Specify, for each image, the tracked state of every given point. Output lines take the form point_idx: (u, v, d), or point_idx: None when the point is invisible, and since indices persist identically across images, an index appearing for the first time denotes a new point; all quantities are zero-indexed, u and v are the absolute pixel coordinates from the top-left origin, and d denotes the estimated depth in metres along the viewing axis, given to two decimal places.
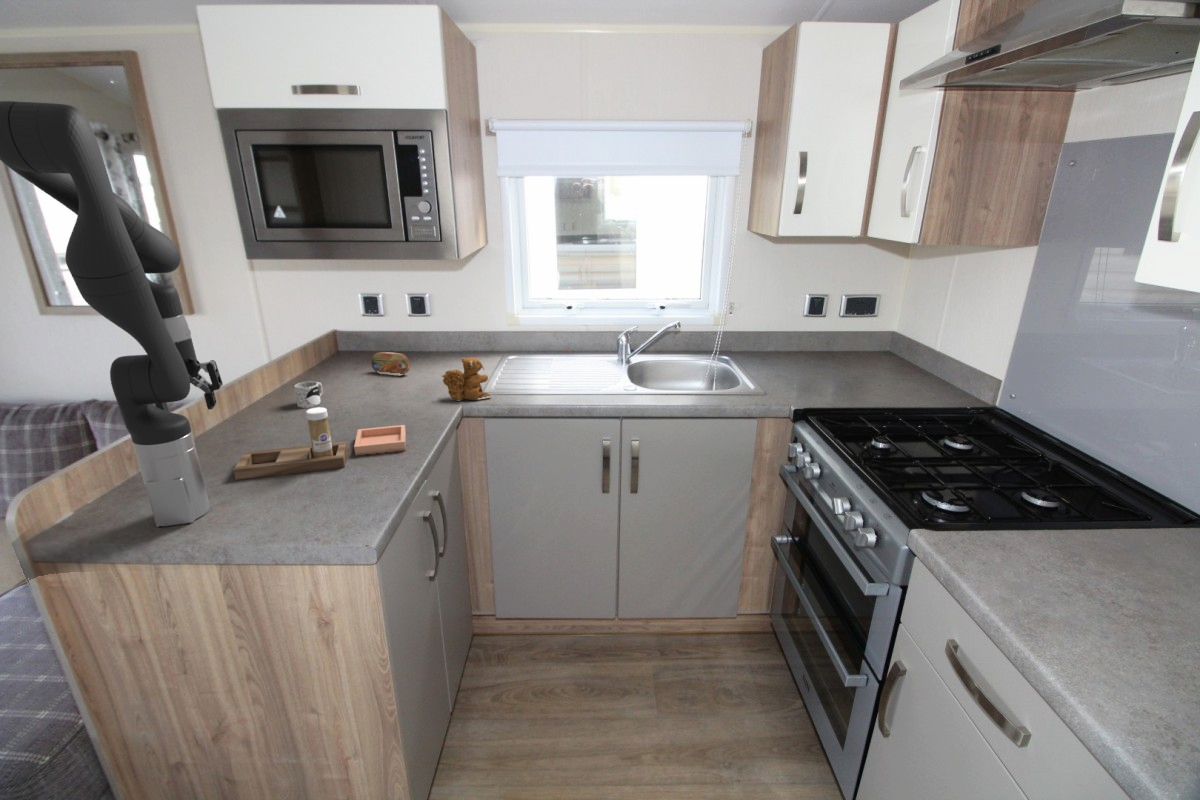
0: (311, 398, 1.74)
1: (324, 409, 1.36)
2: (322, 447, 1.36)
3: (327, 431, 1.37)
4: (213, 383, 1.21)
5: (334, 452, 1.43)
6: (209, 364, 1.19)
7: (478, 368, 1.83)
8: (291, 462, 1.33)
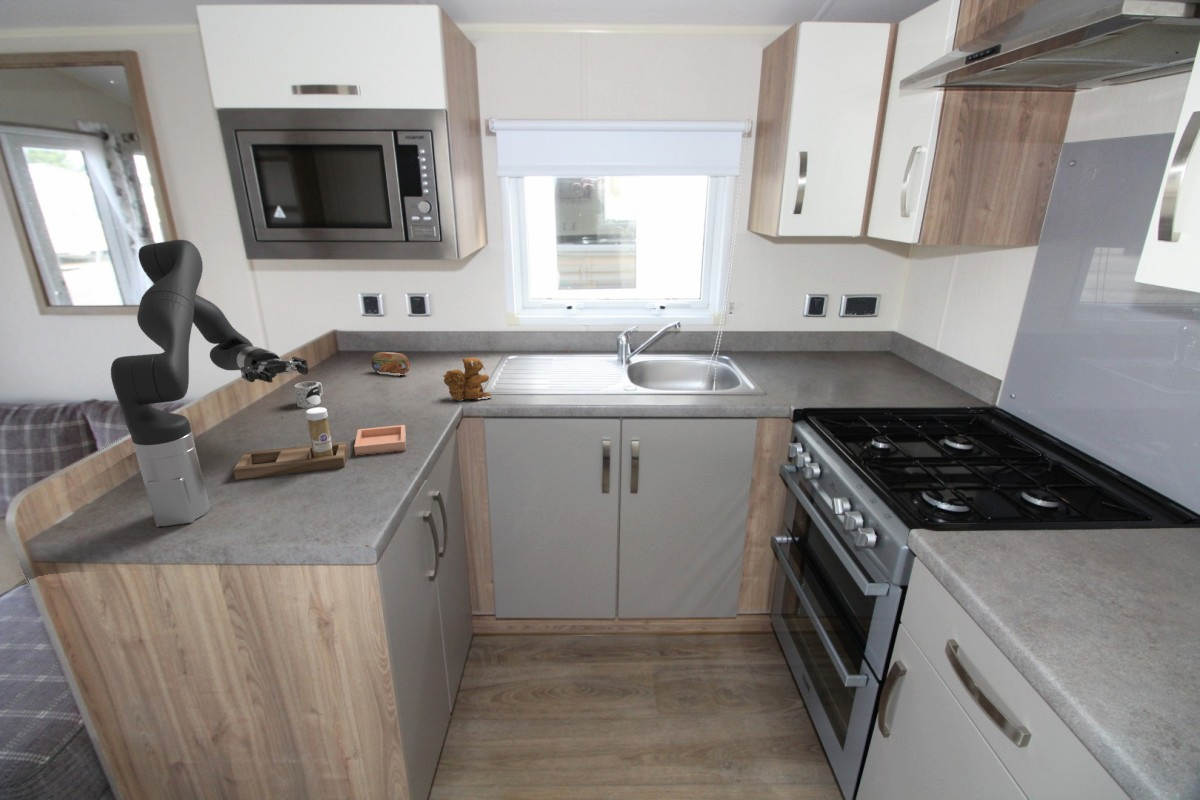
0: (311, 398, 1.74)
1: (324, 409, 1.36)
2: (322, 447, 1.36)
3: (327, 431, 1.37)
4: (301, 360, 1.47)
5: (334, 452, 1.43)
6: None
7: (479, 368, 1.83)
8: (291, 462, 1.33)
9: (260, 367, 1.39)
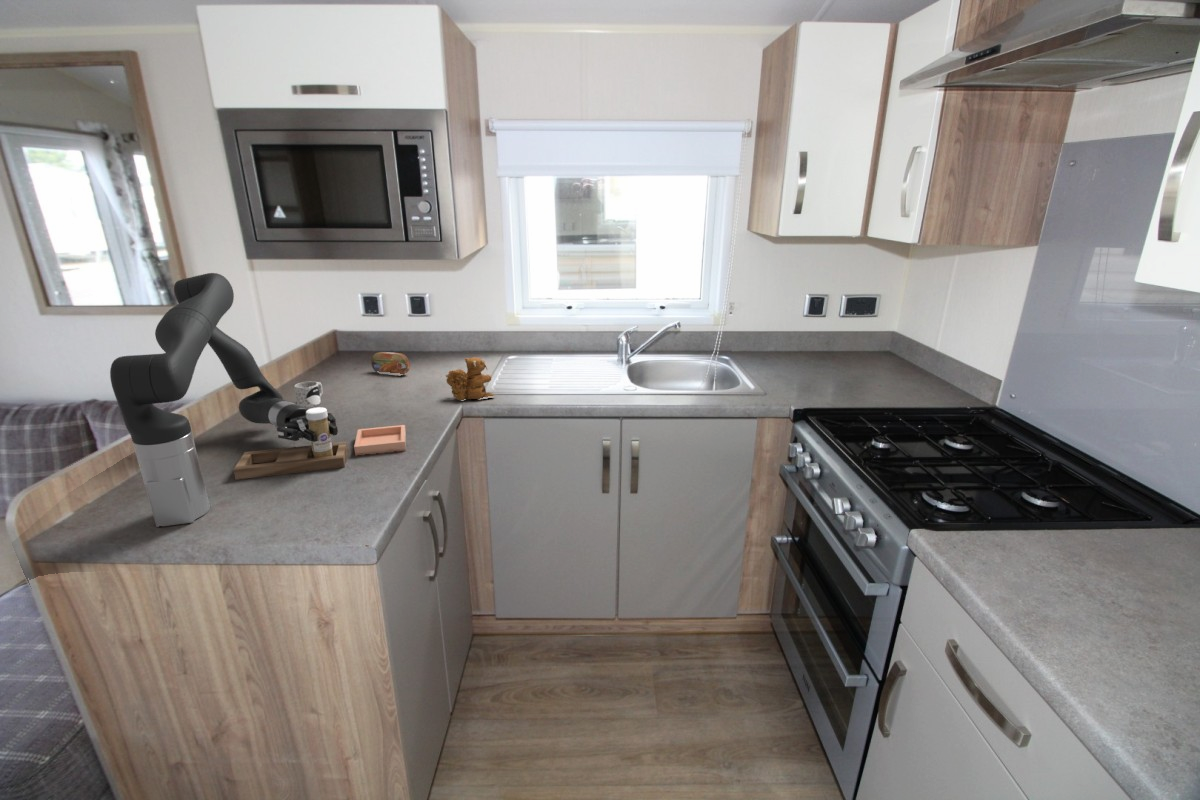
0: (311, 398, 1.74)
1: (324, 409, 1.36)
2: (322, 447, 1.36)
3: (327, 431, 1.37)
4: (330, 418, 1.42)
5: (334, 452, 1.43)
6: (328, 413, 1.45)
7: (481, 368, 1.83)
8: (291, 462, 1.33)
9: (301, 425, 1.36)
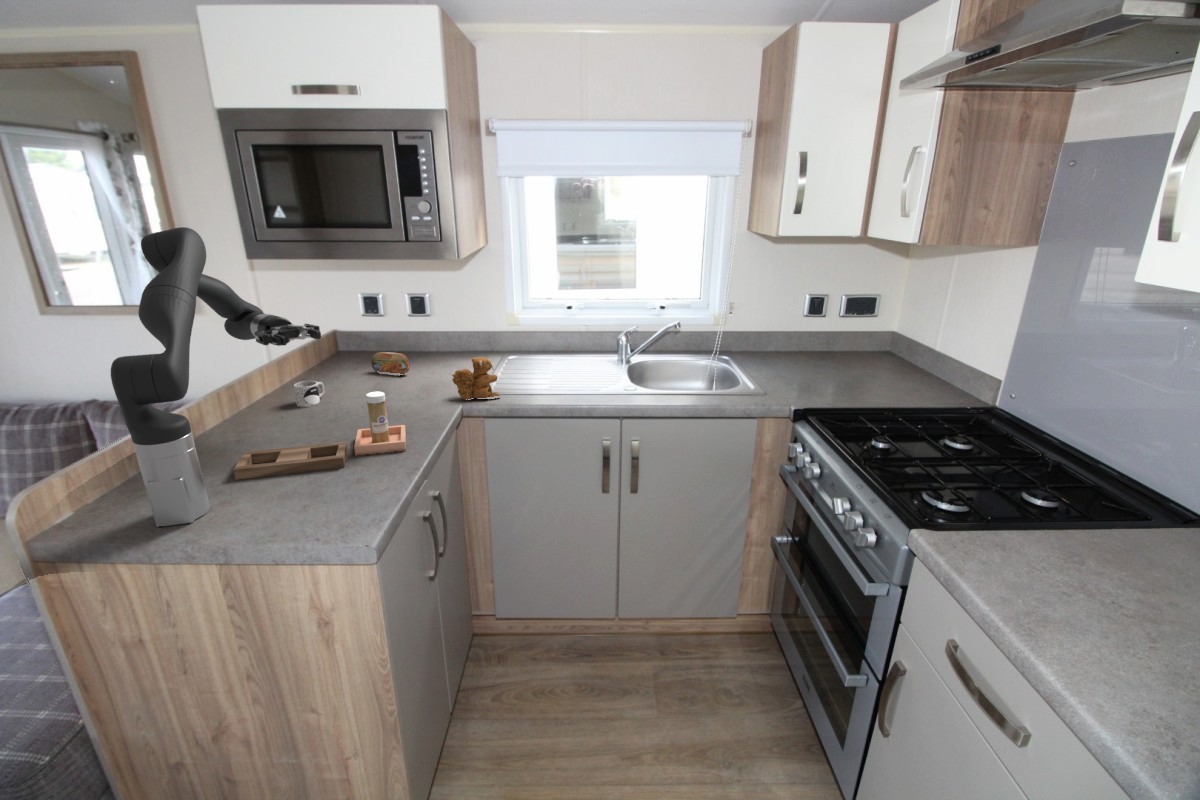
0: (309, 398, 1.75)
1: (382, 393, 1.46)
2: (380, 428, 1.46)
3: (385, 413, 1.46)
4: (313, 326, 1.49)
5: (334, 452, 1.43)
6: None
7: (488, 368, 1.84)
8: (291, 462, 1.33)
9: (274, 331, 1.42)
